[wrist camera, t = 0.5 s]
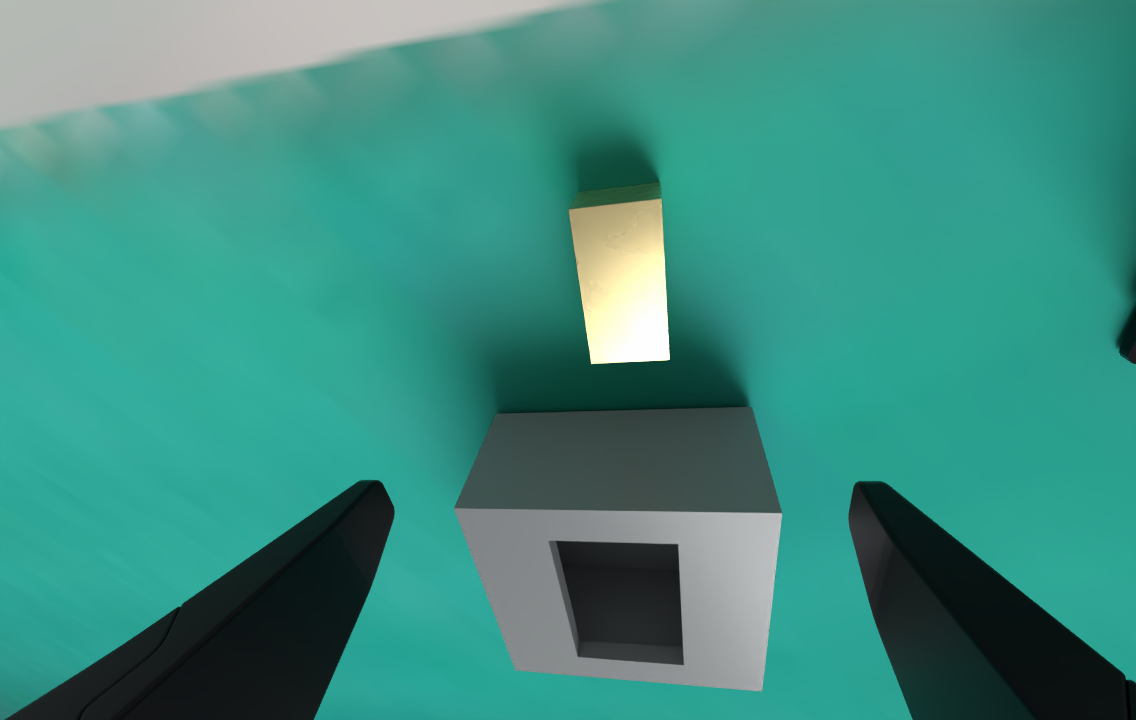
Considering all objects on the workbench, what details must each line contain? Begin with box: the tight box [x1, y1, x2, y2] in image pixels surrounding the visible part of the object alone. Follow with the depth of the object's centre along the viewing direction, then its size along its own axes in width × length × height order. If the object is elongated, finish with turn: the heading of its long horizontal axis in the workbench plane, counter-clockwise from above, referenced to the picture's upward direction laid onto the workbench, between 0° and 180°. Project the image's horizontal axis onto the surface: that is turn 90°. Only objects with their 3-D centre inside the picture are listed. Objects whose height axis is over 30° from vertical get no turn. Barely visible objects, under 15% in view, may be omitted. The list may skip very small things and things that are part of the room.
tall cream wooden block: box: [569, 182, 669, 364], centre depth 18 cm, size 3×6×2 cm, turn 9°
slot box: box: [454, 407, 782, 691], centre depth 23 cm, size 12×12×6 cm
